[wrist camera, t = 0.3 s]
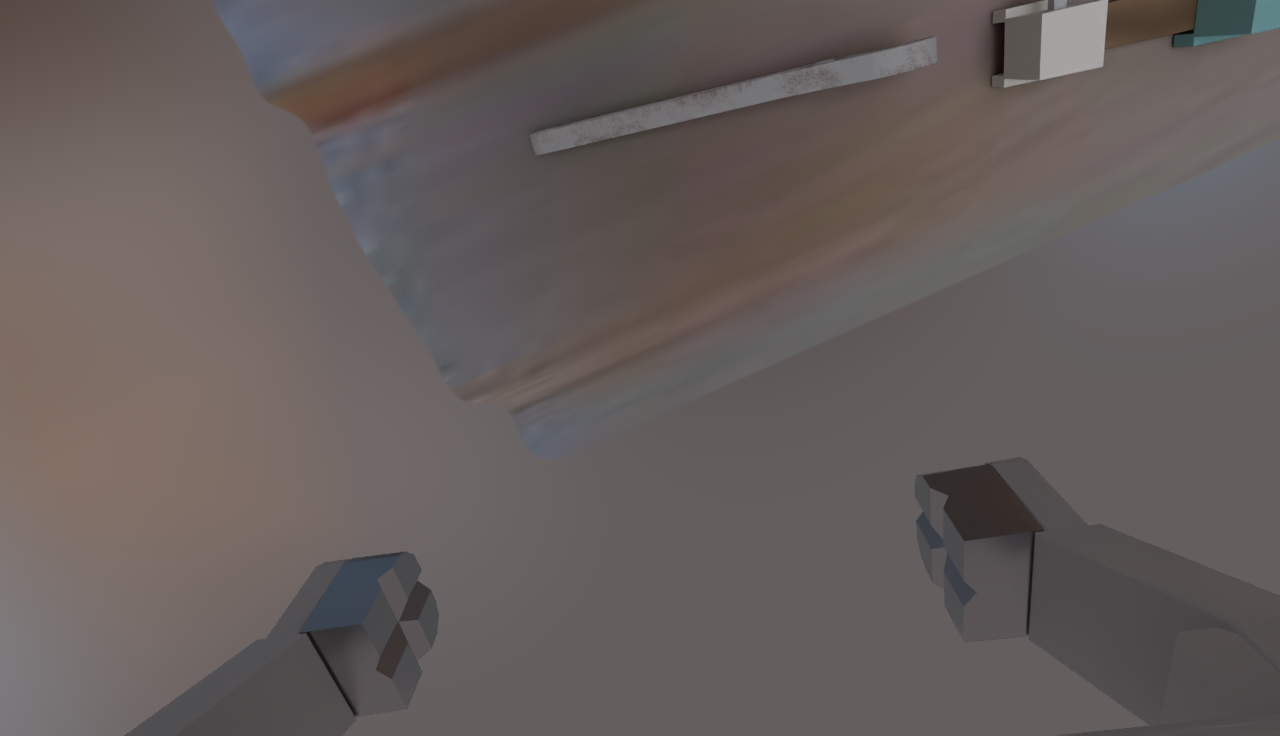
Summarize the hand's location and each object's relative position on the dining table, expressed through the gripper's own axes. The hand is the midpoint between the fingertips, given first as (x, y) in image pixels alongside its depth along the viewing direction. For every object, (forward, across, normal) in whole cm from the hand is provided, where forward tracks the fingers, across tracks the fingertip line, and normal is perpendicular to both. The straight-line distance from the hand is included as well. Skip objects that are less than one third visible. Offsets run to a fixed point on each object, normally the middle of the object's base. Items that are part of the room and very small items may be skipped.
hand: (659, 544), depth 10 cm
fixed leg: (+47, -28, -5) cm, 55 cm away
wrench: (+47, -5, -4) cm, 48 cm away
